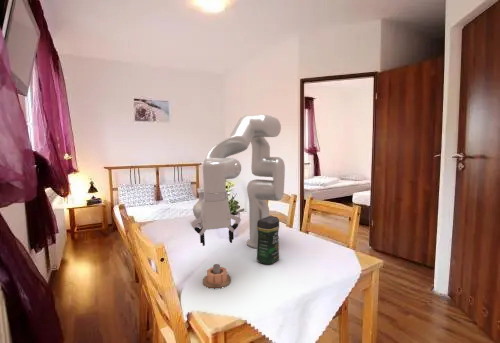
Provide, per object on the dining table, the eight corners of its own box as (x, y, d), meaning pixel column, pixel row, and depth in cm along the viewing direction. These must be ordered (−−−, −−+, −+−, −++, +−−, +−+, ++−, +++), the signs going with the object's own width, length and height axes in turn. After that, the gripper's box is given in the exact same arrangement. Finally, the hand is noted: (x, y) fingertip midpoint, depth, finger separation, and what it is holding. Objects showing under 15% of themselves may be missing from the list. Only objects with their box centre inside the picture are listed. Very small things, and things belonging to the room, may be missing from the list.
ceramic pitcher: (227, 230, 163) (229, 187, 160) (192, 230, 158) (194, 186, 156) (222, 220, 184) (224, 182, 181) (191, 219, 179) (193, 180, 177)
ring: (225, 273, 106) (225, 265, 106) (228, 282, 99) (227, 274, 99) (206, 275, 104) (206, 267, 104) (207, 284, 98) (207, 276, 97)
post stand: (228, 273, 108) (228, 258, 107) (232, 286, 98) (232, 270, 97) (202, 276, 106) (201, 261, 105) (203, 290, 96) (203, 273, 95)
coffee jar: (270, 266, 113) (270, 221, 111) (254, 261, 118) (253, 218, 116) (282, 258, 121) (282, 216, 119) (266, 254, 126) (266, 213, 123)
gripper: (237, 192, 104) (239, 236, 106) (189, 195, 100) (192, 241, 103) (241, 196, 97) (243, 244, 99) (189, 200, 93) (192, 250, 95)
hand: (217, 243), depth 101 cm, fingers open, 9 cm apart
